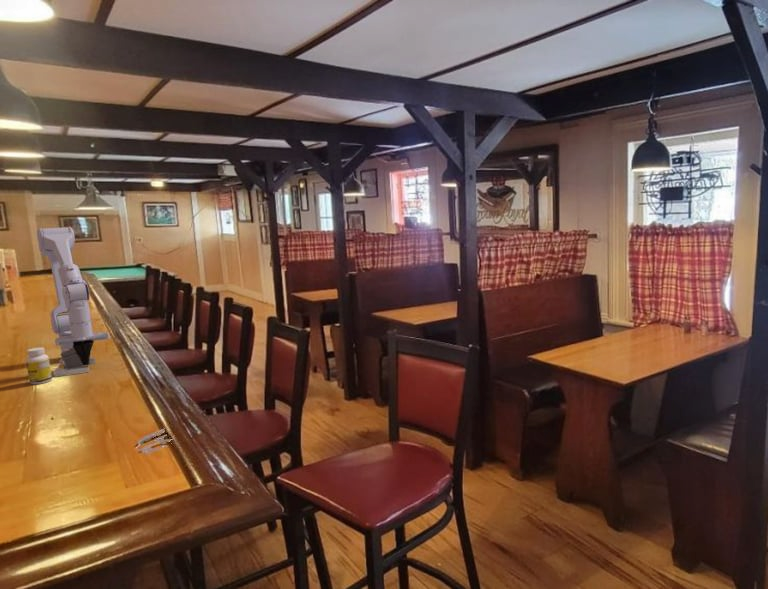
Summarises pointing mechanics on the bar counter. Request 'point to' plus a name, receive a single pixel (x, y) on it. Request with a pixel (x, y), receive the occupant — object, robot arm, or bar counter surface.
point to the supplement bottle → (38, 366)
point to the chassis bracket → (71, 369)
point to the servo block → (71, 358)
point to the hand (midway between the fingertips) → (86, 364)
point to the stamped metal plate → (148, 448)
